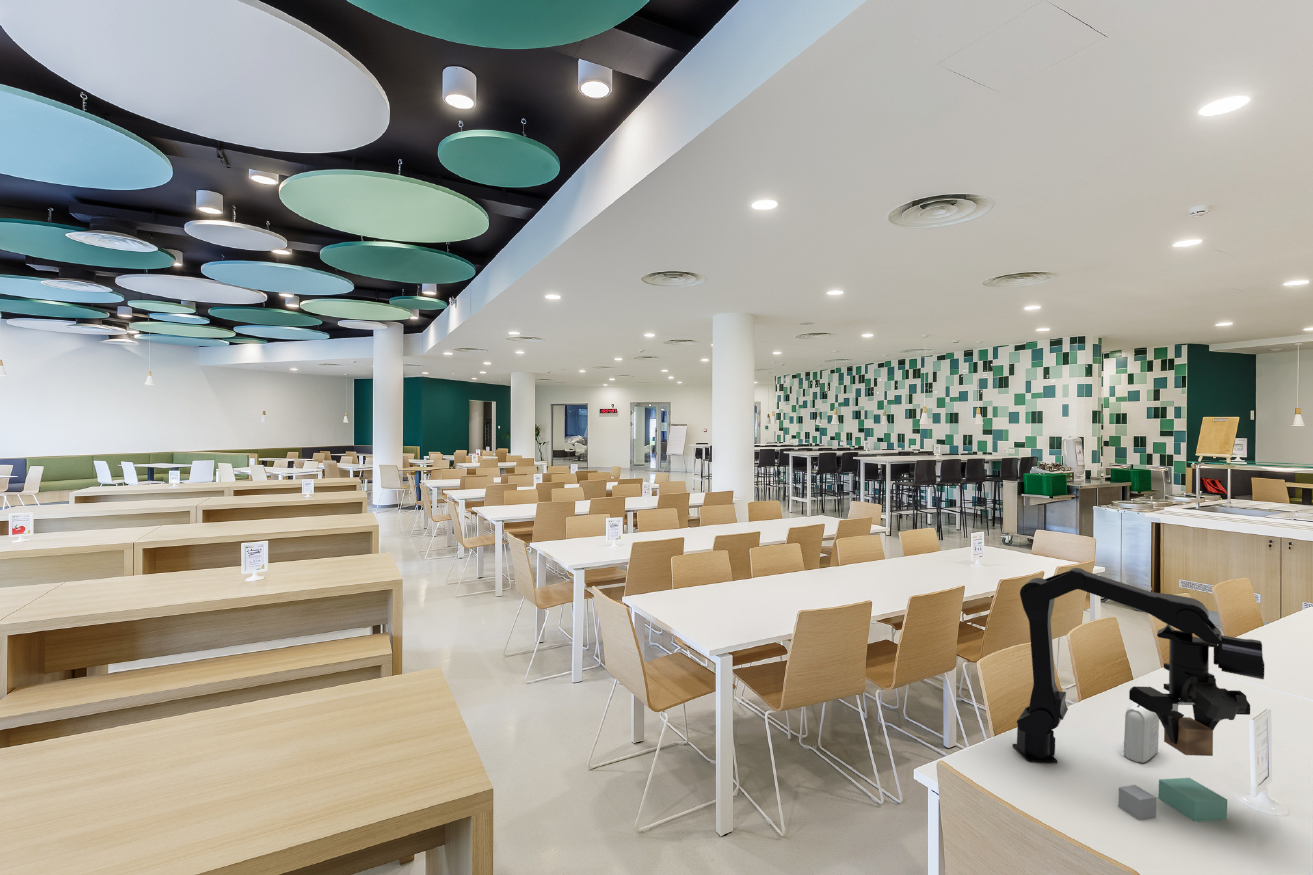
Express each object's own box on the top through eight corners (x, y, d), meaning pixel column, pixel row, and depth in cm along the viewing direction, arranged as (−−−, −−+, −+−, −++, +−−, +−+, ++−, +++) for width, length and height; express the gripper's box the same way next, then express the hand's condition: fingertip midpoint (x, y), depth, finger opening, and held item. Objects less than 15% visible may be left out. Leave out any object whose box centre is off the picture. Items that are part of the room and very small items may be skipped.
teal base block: (1194, 822, 110) (1195, 801, 110) (1158, 798, 117) (1159, 779, 117) (1226, 820, 111) (1227, 799, 111) (1188, 796, 118) (1189, 777, 118)
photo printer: (1137, 743, 138) (1139, 691, 137) (1160, 752, 134) (1162, 699, 134) (1120, 756, 132) (1122, 702, 132) (1144, 765, 128) (1146, 710, 128)
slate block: (1139, 820, 110) (1140, 799, 110) (1118, 807, 114) (1119, 786, 114) (1155, 817, 111) (1156, 797, 111) (1134, 804, 115) (1135, 784, 115)
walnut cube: (1185, 755, 112) (1185, 729, 112) (1164, 741, 117) (1164, 716, 117) (1212, 755, 112) (1212, 729, 112) (1189, 742, 117) (1190, 717, 117)
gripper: (1174, 680, 107) (1173, 765, 107) (1280, 682, 106) (1279, 768, 106) (1127, 657, 118) (1126, 734, 118) (1223, 659, 117) (1222, 736, 117)
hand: (1187, 743), depth 114 cm, fingers closed on walnut cube, 5 cm apart
